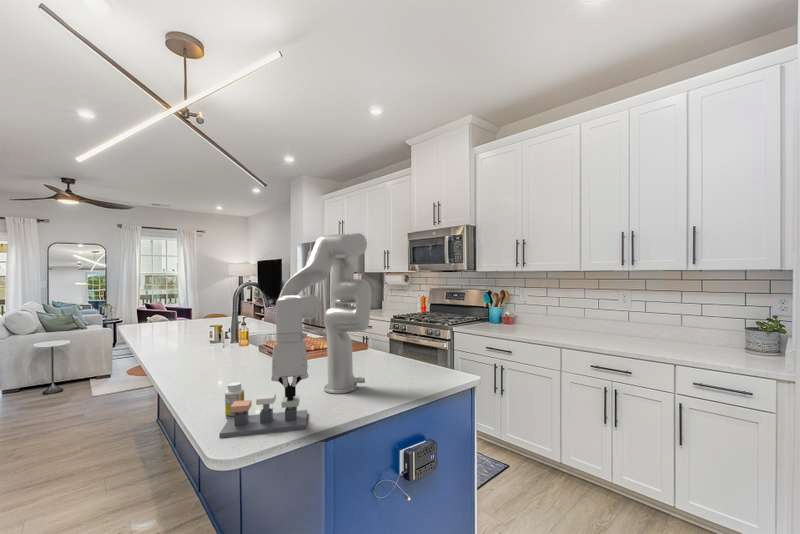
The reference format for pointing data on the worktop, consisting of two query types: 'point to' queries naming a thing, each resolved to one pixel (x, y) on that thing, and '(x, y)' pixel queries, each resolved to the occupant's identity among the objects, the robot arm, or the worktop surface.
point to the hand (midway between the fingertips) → (290, 399)
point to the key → (241, 406)
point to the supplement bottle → (233, 397)
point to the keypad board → (264, 422)
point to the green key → (290, 402)
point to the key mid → (266, 400)
